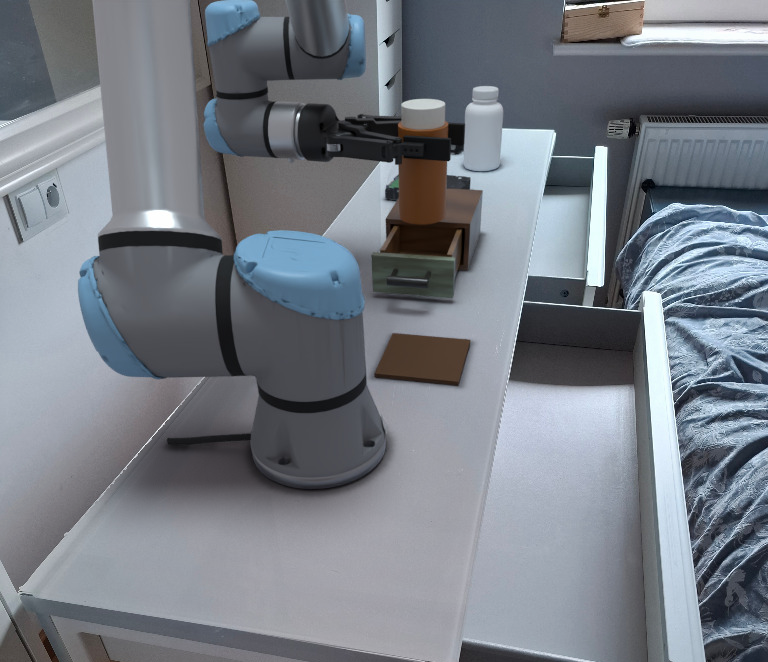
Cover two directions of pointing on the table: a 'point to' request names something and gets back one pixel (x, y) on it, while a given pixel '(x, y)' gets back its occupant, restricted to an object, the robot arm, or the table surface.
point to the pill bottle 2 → (483, 130)
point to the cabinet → (453, 219)
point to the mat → (423, 359)
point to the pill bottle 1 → (422, 164)
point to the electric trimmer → (456, 148)
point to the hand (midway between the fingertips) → (457, 142)
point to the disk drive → (452, 183)
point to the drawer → (418, 261)
